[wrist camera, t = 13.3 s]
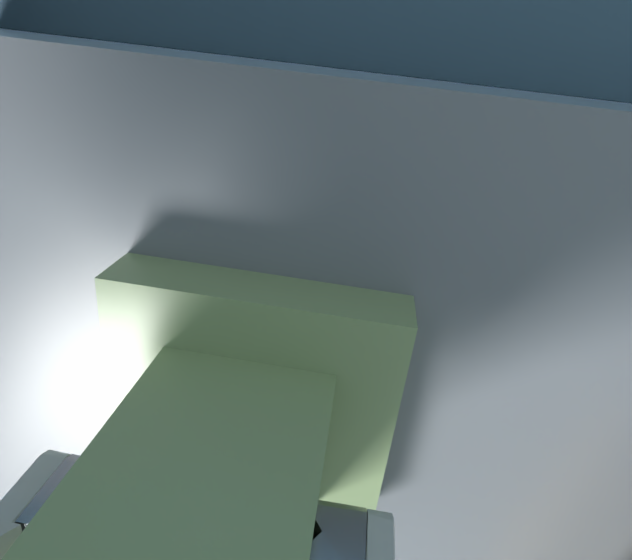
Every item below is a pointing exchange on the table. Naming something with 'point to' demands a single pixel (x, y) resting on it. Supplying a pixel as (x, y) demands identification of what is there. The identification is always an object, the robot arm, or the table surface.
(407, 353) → the plug
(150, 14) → the table surface
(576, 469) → the grey flat block
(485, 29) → the table surface
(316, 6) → the table surface
